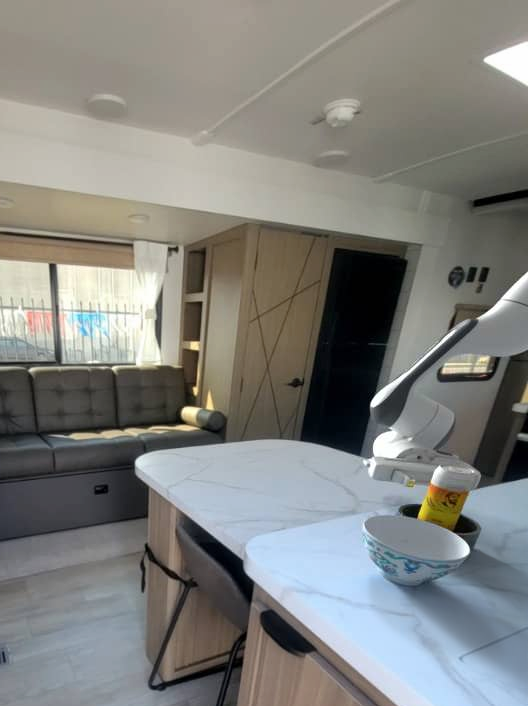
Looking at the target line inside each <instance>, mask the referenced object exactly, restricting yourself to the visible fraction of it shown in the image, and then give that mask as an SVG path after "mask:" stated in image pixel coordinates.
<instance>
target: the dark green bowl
mask: <svg viewBox="0 0 528 706" xmlns="http://www.w3.org/2000/svg"><path fill="white" fill-rule="evenodd" d="M422 504H423V503H407V504H403V505H402V504H401V505H400V507H398V508H397V511H396V514H395V515H397V516H405V517H410V518H415V519H417V518H418V515H419V512H420V510H421V507H422ZM482 530H483V528H482V526H481V525H480V523H478V522H477V521H476V520H474V519H473V518H471V517H469V516H468V515H465V514H464V513H463V514H462V512H461V513H460V516H459V518H458V520H457V523H456V525H455V528H454V530H453V533H454V534H456V535H458V536H459V537H461V538H462V539H463V540H464V541H465V542H466V543H467V544H468V545H469V547H470V554H469V556H468V557H467V558H466V559H465V560H467V559H469V558H470V556H471V554H472V553H473V550H474V548H475V545H476V544H477V541H478V540H479V537H480V535H481V532H482Z"/></svg>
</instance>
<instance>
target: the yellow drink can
mask: <svg viewBox="0 0 528 706" xmlns="http://www.w3.org/2000/svg"><path fill="white" fill-rule="evenodd" d="M474 473H475V472H474V471H473V470H472V469H470V468H467V467H463V466H459V465H454V464H441V465H440V466H439V467H438V468H437V469H436V470H435V472H434V474H433V477H432V480H431V483H430V485H429V486H428V488H427V491H426V494H425V496H424V499H423V502H422V503H421V504H422V507H421V510H420V512H419V515H418V518H417V519H419V520H423V521H426V522H429V523H432V524H435V525H438V526H440V527H443V528H445V529H447V530H449V531H451V532H453V530H454V528H455V525H456V523H457V520H458V518H459V516H460V513H461V514H462V511H463V509H464V506H465V503H466V501H467V498H468V496H469V494H470V491H471V490H470V489H471V487H472V485H473V482H474V480H475V476H474Z"/></svg>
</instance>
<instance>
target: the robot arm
mask: <svg viewBox="0 0 528 706" xmlns="http://www.w3.org/2000/svg"><path fill="white" fill-rule="evenodd" d="M526 351H528V271H527V272H526V273H525V274H524V275H522V276H521V277H520V278H519V279H518V280H517V281H516V282H515V283H514V284H513V285H512V286H511V287H510V288H509V289H508V290H507V291H506V292H505V293H504V294H503V296H502V297H501V298H500V299H499V300H498V301H497V303H495V305H493V307H491V308H490V309H489V310H488V311H487V312H484V314H482V315H480V316H478V317H477V318H467V319H465V320H464V319H463V321H461V322H459V323H458V324H456V325H455V326H453V327H452V328H451V329H450V330H448V331H447V332H446V333H445V334H444V335H443V336H441V337H440V338H439V339H438V340H437V341H435V342H434V343H433V344H432V345H431V346H430V347H429V348H428V349H427V350H426V351H424V352H423V353H422V354H421V355H420V356H419V357H418V358H417V359H416V360H415V361H414V362H412V363H411V364H410V365H409V366H408V367H407V368H406V369H405V370H404V371H403V372H402V373H400V374H399V375H398V376H397V377H395V378H394V379H392V381H391V382H389V383H388V384H386V385H385V386H384V387H383V388H382V389H381V390H380V391H379V392H377V393H376V394H375V395H374V397H373V398H372V399H371V401H370V404H369V411H370V412H369V413H370V416H371V419H372V421H373V422H374V423H376V424H378V425H380V426H383V427H385V428H386V429H387V428H388V429H390V431H386V432H383V433H381V434H379V435H378V436H377V437H376V439H375V440H374V442H373V445H372V453H373V456H372V457H371V458H369V459H363V462H362V463H363V465H364V466H365V467H367V468H368V469H367V473H368V475H369V477H370V478H371V480H375V481H378V482H389V483H397V484H400V485H402V486H403V487H406V488H413V487H414V486H415V485H417V486H426V487H429V485H430V483H431V480H432V477H433V474H434V472H435V470H436V469H437V468H438V467H439V466H440V465H441V464H454V465H459V466H463V467H467V468H470V469H472V470H473V471H474V472H475V473H474V476H475V480H474V482H473V485H472V487H471V489H470V491H474V490H475V489H476V488H477V487H478V485H479V483H480V480H481V478H482V474H481V472H480V471H479V470H478V469H476V468H475V467H473V466H471V465H470V464H469V463H467V462H465V461H463V460H460V456H458V455H457V454H454V453H451V452H445V451H440V449H441V448H442V447H443V446H445V444H447V443H448V442H449V440H450V439H451V437H452V436H453V434H454V432H455V428H456V424H457V417H456V414H455V412H454V411H452V410H451V409H449V408H447V407H446V406H445V405H442V404H441V403H440V402H437V401H435V400H434V399H432V398H430V397H428V396H426V394H423V393H422V392H420V391H419V387H420V386H421V385H422V384H424V383H425V382H426V381H427V380H428V379H429V378H430V377H432V376H433V375H434V374H435V373H437V371H439V369H441V368H442V367H444V365H445V364H446V363H447V362H449V361H450V360H452V359H453V358H455V357H458V356H461V355H477V356H478V355H479V356H487V357H494V358H495V357H497V358H502V357H504V358H505V357H512V356H516V355H518V354H521V353H524V352H526Z"/></svg>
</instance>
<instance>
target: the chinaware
mask: <svg viewBox="0 0 528 706" xmlns="http://www.w3.org/2000/svg"><path fill="white" fill-rule="evenodd" d="M362 541H363V545H364V549H365V552H366V553H367V555H368V557H369V558H370V560H371V561H372V562H373V563H374V564H375V565H376V567H377V570H378V572H379V574H380V575H381V576H383V577H384V578H385V579H387V580H389V581H391V582H393V583H396V584H398V585H403V586H409V587H411V586H412V587H414V586H419V585H422V583H423V582H430V581H434V580H438V579H441V578H444V577H446V576H447V575H450V574H451V573H452V572H454V571H455V570H457V569H458V568H459V567H460V566H461V565H462V564H463V563H464V562H465V561H466V560H467V559H468V558H467V557H468V556H469V554H470V547H469V545H468V544H467V543H466V542H465V541H464V540H463V539H462V538H461V537H459V536H458V535H456V534H454V533H453V532H451V531H449V530H447V529H445V528H443V527H440V526H438V525H435V524H432V523H429V522H426V521H423V520H419V519H415V518H410V517H405V516H397V515H396V514H395V515H394V514H379V515H372V516H370V517H368V518H366V519H365V520H364V521H363V523H362ZM469 557H470V556H469ZM466 558H467V559H466Z"/></svg>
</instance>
